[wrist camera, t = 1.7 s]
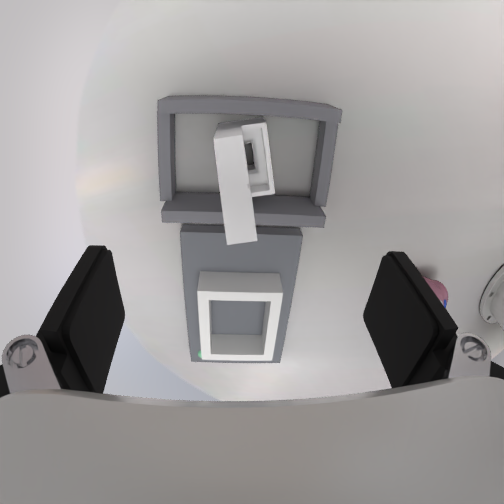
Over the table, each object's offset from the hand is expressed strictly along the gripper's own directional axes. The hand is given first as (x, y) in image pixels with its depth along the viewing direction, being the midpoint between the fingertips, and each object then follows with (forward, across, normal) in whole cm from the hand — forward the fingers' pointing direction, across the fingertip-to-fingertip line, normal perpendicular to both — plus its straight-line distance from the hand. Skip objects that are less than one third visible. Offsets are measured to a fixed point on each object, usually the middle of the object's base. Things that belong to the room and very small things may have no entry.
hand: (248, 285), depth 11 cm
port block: (+18, -1, +16) cm, 24 cm away
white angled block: (+18, -1, 0) cm, 18 cm away
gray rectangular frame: (+18, -1, 0) cm, 18 cm away
